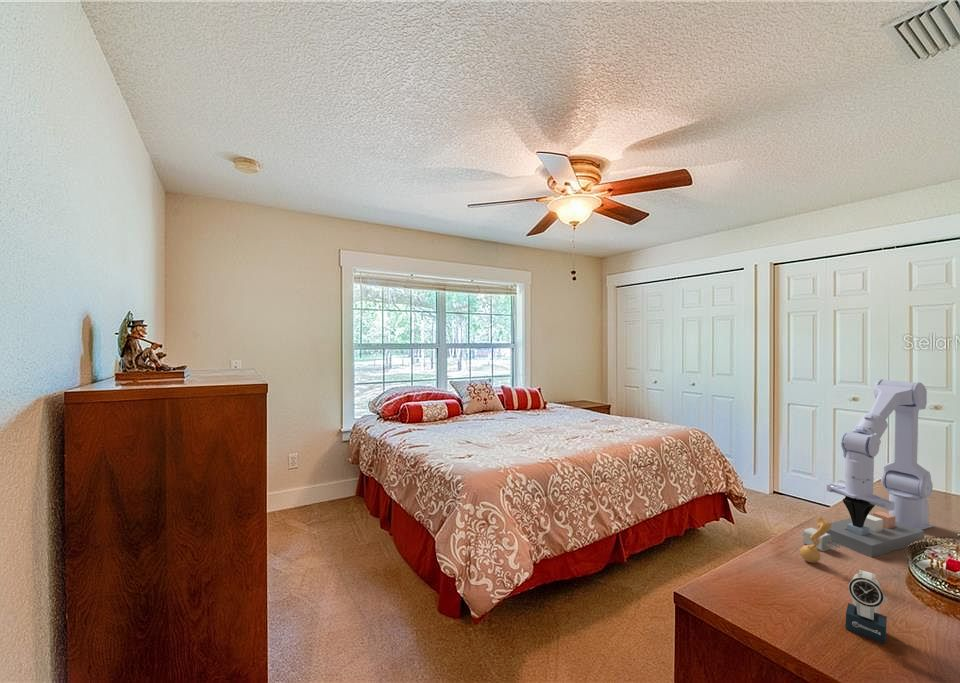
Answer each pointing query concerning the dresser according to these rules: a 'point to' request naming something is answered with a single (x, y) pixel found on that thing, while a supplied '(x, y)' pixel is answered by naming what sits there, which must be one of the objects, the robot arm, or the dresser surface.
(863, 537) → the key panel
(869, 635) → the watch
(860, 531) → the blue key
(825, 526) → the figurine
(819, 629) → the dresser surface
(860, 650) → the dresser surface
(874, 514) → the terracotta key
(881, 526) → the white key
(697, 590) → the dresser surface
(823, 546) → the usb wall charger
